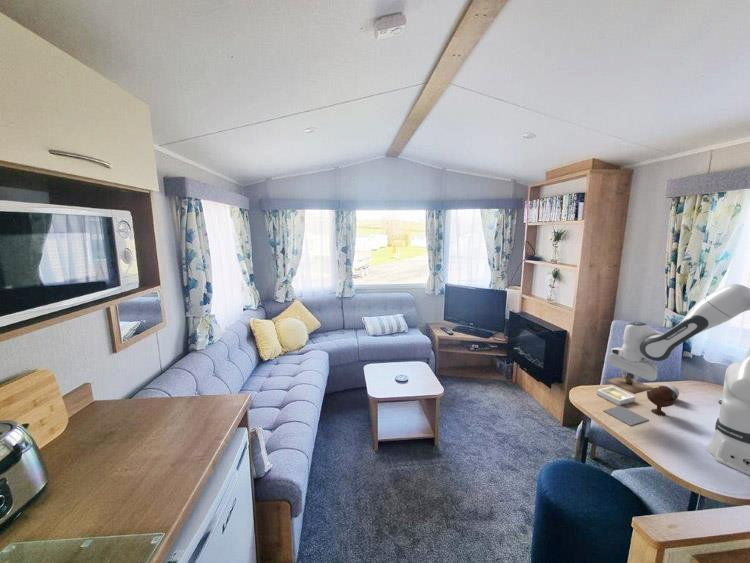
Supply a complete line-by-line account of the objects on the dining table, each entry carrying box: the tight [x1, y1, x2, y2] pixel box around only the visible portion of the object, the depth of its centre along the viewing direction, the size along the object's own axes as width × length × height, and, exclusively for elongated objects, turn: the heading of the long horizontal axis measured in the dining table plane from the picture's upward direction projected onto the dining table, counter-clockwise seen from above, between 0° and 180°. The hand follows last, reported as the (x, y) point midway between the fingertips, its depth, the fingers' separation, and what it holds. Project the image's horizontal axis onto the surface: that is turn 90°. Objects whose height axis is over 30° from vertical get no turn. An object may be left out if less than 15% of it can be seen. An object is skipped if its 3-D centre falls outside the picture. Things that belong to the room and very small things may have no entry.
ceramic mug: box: [664, 384, 680, 401], centre depth 169 cm, size 11×8×8 cm
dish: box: [596, 385, 636, 406], centre depth 170 cm, size 12×12×3 cm
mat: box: [602, 405, 649, 427], centre depth 154 cm, size 13×13×1 cm
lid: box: [605, 372, 654, 395], centre depth 151 cm, size 13×13×6 cm
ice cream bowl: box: [646, 385, 677, 417], centre depth 155 cm, size 11×11×15 cm
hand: (629, 380), depth 151 cm, fingers closed on lid, 3 cm apart
